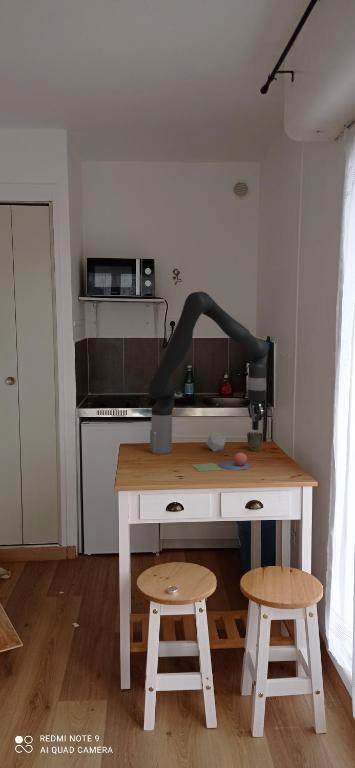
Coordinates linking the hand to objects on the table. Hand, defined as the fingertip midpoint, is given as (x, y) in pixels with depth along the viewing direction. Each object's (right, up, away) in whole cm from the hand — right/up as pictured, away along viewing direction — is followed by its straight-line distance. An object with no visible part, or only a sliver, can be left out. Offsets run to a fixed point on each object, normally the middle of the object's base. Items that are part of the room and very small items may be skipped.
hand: (255, 429), depth 240 cm
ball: (-6, -12, -1) cm, 14 cm away
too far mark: (-20, -15, -4) cm, 26 cm away
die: (-15, -12, +26) cm, 31 cm away
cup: (+3, -12, +26) cm, 28 cm away
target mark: (-9, -15, -1) cm, 17 cm away
